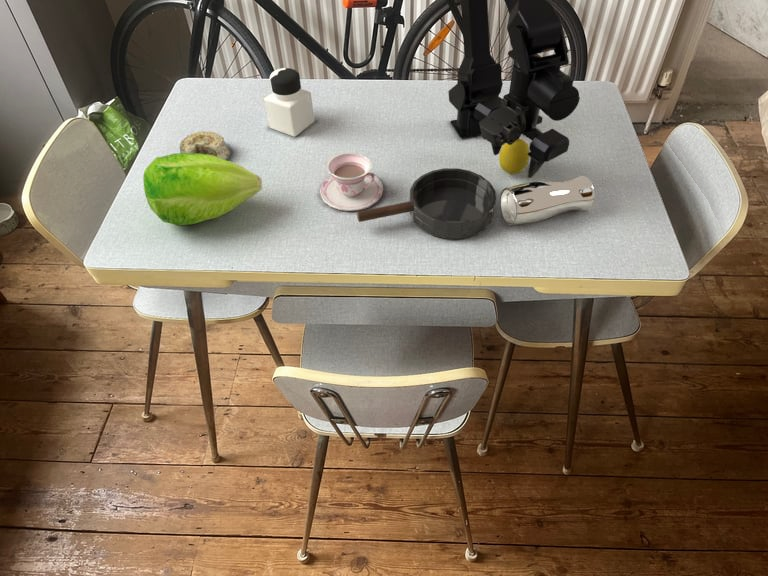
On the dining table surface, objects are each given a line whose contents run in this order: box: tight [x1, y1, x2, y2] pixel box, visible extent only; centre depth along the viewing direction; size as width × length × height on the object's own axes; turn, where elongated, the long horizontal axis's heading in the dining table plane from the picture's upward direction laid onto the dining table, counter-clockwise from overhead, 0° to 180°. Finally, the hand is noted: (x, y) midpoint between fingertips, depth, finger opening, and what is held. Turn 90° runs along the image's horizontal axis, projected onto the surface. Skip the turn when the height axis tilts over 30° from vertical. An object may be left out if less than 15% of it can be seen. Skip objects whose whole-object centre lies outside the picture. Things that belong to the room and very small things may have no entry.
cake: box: [179, 130, 231, 160], centre depth 116 cm, size 10×10×5 cm
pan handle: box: [356, 200, 414, 223], centre depth 100 cm, size 2×10×2 cm, turn 106°
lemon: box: [498, 137, 530, 175], centre depth 109 cm, size 6×6×8 cm
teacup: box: [319, 152, 384, 212], centre depth 107 cm, size 12×12×6 cm
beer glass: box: [499, 175, 595, 226], centre depth 101 cm, size 7×7×15 cm
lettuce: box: [142, 152, 263, 226], centre depth 101 cm, size 14×20×12 cm
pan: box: [409, 167, 498, 240], centre depth 103 cm, size 15×15×4 cm
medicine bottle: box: [263, 67, 315, 138], centre depth 120 cm, size 7×7×12 cm
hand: (512, 165), depth 110 cm, fingers open, 9 cm apart
